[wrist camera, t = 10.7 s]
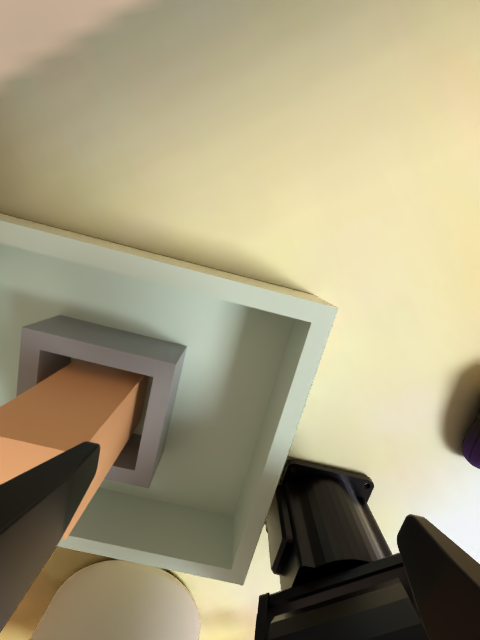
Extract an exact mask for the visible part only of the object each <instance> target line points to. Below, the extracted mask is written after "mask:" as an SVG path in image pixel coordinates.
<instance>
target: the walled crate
mask: <svg viewBox="0 0 480 640" xmlns="http://www.w3.org/2000/svg"><path fill="white" fill-rule="evenodd" d="M337 310H338V308H337V307H335V306H333V305H332V304H330V303H328V302H326V301H324V300H323V299H321V298H319V297H317V296H315V295H312V294H309V293H305V292H301V291H297V290H293V289H289V288H285V287H282V286H278V285H274V284H270V283H266V282H262V281H259V280H255V279H251V278H247V277H243V276H239V275H236V274H232V273H228V272H224V271H220V270H216V269H213V268H209V267H205V266H201V265H197V264H193V263H190V262H186V261H182V260H178V259H174V258H170V257H167V256H163V255H159V254H155V253H151V252H147V251H144V250H140V249H136V248H132V247H128V246H124V245H121V244H117V243H113V242H109V241H105V240H101V239H97V238H94V237H90V236H86V235H82V234H78V233H74V232H71V231H67V230H63V229H59V228H55V227H51V226H48V225H44V224H40V223H36V222H32V221H28V220H25V219H21V218H17V217H13V216H9V215H5V214H2V213H0V407H1V406H3V405H4V404H6V403H8V402H9V401H11V400H12V399H14V398H16V397H17V396H19V395H20V394H22V393H24V392H25V391H27V390H29V389H30V388H32V387H33V386H35V385H37V384H38V383H40V382H41V381H43V380H45V379H46V378H48V377H49V376H51V375H53V374H54V373H56V372H57V371H59V370H61V369H62V368H64V367H65V366H67V365H69V364H70V363H72V362H74V361H75V360H77V359H80V360H84V361H88V362H93V363H97V364H101V365H105V366H109V367H113V368H118V369H122V370H126V371H130V372H134V373H138V374H143V375H147V376H149V379H148V384H147V389H146V394H145V399H144V404H143V409H142V414H141V419H140V422H139V424H138V425H137V427H136V428H135V430H134V432H133V433H132V435H131V436H130V438H129V440H128V441H127V443H126V444H125V446H124V448H123V449H122V451H121V452H120V454H119V456H118V457H117V459H116V460H115V462H114V464H113V465H112V467H111V468H110V470H109V472H108V473H107V475H106V476H105V478H104V480H103V481H102V483H101V484H100V486H99V488H98V489H97V491H96V492H95V494H94V496H93V497H92V499H91V500H90V502H89V504H88V505H87V507H86V508H85V510H84V512H83V513H82V515H81V516H80V518H79V520H78V521H77V523H76V524H75V526H74V528H73V529H72V531H71V532H70V534H69V536H68V537H67V539H66V540H64V539H61V540H60V542H59V543H58V545H57V546H58V547H62V548H67V549H72V550H77V551H82V552H86V553H91V554H96V555H101V556H106V557H110V558H115V559H120V560H125V561H129V562H134V563H139V564H144V565H149V566H153V567H158V568H163V569H168V570H173V571H177V572H182V573H187V574H192V575H196V576H201V577H206V578H211V579H216V580H220V581H225V582H230V583H235V584H240V585H243V584H244V581H245V578H246V575H247V572H248V569H249V566H250V563H251V560H252V558H253V555H254V552H255V549H256V546H257V543H258V540H259V537H260V534H261V531H262V528H263V526H264V523H265V520H266V517H267V514H268V511H269V508H270V505H271V502H272V499H273V496H274V493H275V491H276V488H277V485H278V482H279V479H280V476H281V473H282V470H283V467H284V464H285V461H286V458H287V456H288V453H289V450H290V447H291V444H292V441H293V438H294V435H295V432H296V429H297V426H298V424H299V421H300V418H301V415H302V412H303V409H304V406H305V403H306V400H307V397H308V394H309V391H310V389H311V386H312V383H313V380H314V377H315V374H316V371H317V368H318V365H319V362H320V359H321V357H322V354H323V351H324V348H325V345H326V342H327V339H328V336H329V333H330V330H331V327H332V324H333V322H334V319H335V316H336V313H337Z"/></svg>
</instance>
